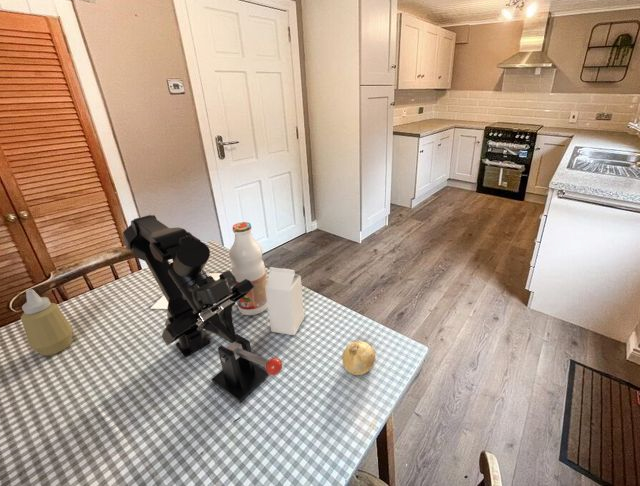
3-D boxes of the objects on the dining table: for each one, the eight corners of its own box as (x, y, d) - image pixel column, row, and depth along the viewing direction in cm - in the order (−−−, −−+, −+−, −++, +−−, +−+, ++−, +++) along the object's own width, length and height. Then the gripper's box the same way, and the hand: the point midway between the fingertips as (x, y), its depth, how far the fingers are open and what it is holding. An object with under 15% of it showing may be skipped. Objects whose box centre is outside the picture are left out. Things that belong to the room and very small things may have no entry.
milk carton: (294, 336, 84) (288, 277, 77) (271, 332, 85) (263, 274, 78) (304, 318, 90) (299, 263, 83) (282, 315, 92) (276, 260, 85)
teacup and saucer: (212, 293, 101) (210, 283, 99) (188, 293, 101) (186, 283, 99) (224, 278, 109) (222, 268, 108) (202, 278, 109) (200, 268, 108)
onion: (354, 348, 80) (353, 327, 77) (380, 361, 76) (381, 340, 73) (336, 371, 73) (335, 349, 71) (364, 386, 70) (364, 363, 67)
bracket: (268, 376, 72) (263, 341, 68) (240, 404, 65) (232, 367, 61) (241, 358, 77) (234, 324, 73) (212, 382, 70) (203, 347, 66)
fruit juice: (271, 311, 93) (260, 229, 83) (239, 319, 90) (223, 234, 79) (268, 293, 101) (257, 216, 91) (237, 300, 98) (223, 221, 87)
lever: (287, 369, 62) (283, 356, 61) (275, 381, 59) (271, 368, 58) (239, 350, 70) (235, 338, 69) (227, 359, 68) (222, 347, 67)
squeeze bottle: (83, 341, 81) (59, 285, 75) (44, 364, 75) (13, 305, 68) (68, 332, 85) (43, 277, 78) (28, 353, 78) (-3, 295, 71)
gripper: (154, 291, 53) (204, 365, 52) (243, 247, 68) (283, 304, 67) (143, 311, 60) (187, 377, 59) (227, 267, 75) (263, 319, 73)
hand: (234, 341), depth 64 cm, fingers closed
